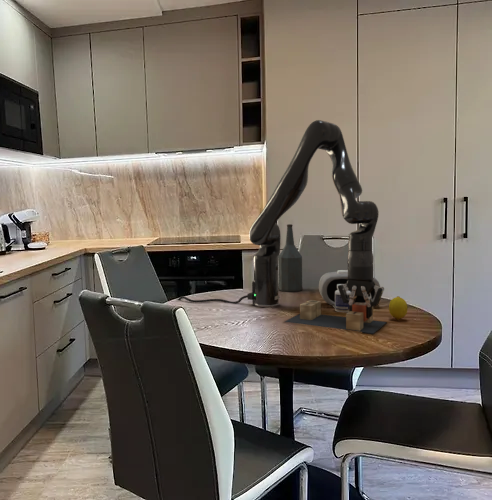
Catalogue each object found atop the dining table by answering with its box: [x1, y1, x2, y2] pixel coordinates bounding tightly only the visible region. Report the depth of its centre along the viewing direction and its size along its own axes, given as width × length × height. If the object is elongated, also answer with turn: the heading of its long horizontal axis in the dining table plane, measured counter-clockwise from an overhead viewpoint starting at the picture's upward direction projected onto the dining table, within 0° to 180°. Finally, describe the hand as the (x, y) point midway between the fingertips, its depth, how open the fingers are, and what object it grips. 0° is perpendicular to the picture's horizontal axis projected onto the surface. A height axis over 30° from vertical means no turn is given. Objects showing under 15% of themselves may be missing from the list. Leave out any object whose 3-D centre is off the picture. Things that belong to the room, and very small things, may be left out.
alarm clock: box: [318, 269, 381, 309], centre depth 184 cm, size 21×10×13 cm, turn 76°
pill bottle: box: [334, 284, 351, 314], centre depth 176 cm, size 5×5×10 cm
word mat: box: [284, 313, 388, 335], centre depth 161 cm, size 28×16×1 cm, turn 50°
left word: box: [299, 299, 322, 320], centre depth 169 cm, size 4×9×5 cm, turn 140°
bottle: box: [278, 223, 303, 293], centre depth 219 cm, size 10×10×30 cm
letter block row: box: [345, 306, 374, 332], centre depth 156 cm, size 4×15×5 cm, turn 140°
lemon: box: [388, 296, 409, 321], centre depth 161 cm, size 6×6×8 cm
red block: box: [352, 302, 368, 321], centre depth 156 cm, size 4×4×5 cm
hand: (360, 317), depth 156 cm, fingers closed on red block, 4 cm apart
